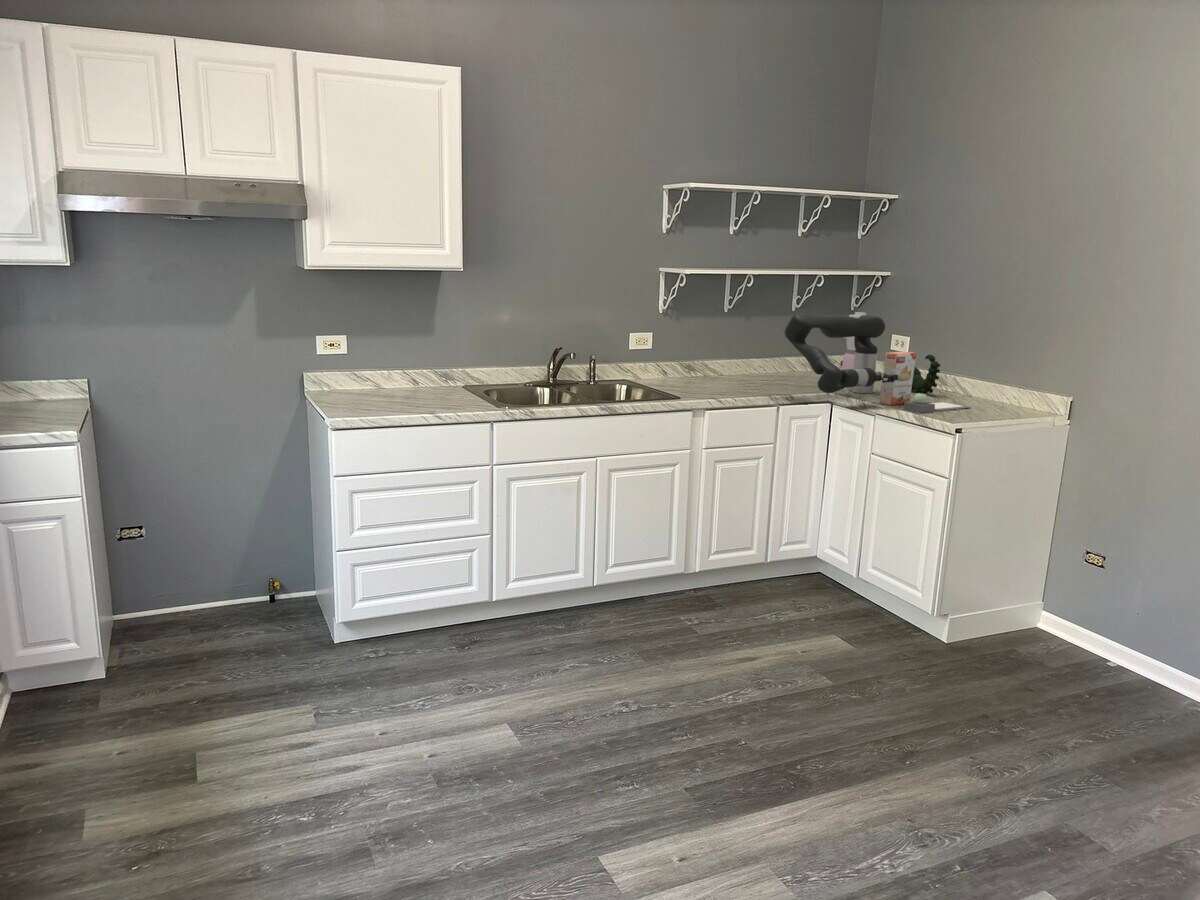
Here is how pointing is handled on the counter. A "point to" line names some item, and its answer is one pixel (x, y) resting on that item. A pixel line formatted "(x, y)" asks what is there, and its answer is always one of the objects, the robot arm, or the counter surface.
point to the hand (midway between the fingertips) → (888, 375)
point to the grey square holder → (919, 407)
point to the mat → (947, 406)
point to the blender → (850, 348)
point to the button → (920, 399)
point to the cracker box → (904, 369)
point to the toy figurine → (926, 384)
